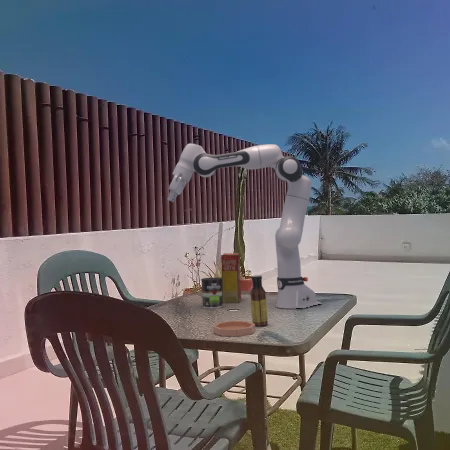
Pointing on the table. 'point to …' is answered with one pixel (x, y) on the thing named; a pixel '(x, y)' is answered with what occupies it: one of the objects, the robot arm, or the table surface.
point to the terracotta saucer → (234, 328)
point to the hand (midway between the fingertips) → (170, 201)
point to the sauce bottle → (258, 302)
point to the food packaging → (231, 278)
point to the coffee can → (212, 293)
